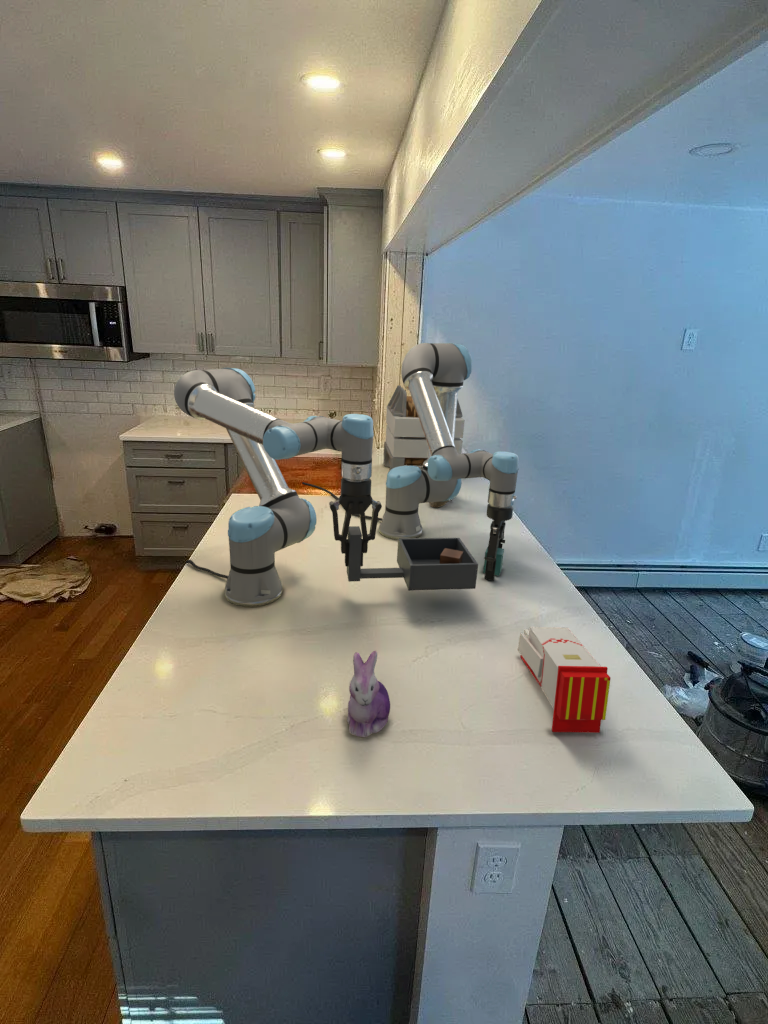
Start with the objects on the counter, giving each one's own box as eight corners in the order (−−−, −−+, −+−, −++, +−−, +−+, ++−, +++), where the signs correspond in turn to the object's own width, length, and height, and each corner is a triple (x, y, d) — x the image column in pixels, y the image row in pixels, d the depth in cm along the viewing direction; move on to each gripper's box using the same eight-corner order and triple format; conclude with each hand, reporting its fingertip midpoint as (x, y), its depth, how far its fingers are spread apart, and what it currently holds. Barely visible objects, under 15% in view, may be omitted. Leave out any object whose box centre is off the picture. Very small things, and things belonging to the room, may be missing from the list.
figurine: (356, 747, 102) (359, 677, 97) (334, 712, 111) (335, 646, 105) (402, 731, 106) (406, 663, 101) (377, 699, 115) (380, 635, 110)
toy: (564, 611, 133) (619, 673, 103) (558, 664, 135) (611, 739, 106) (512, 610, 132) (554, 672, 103) (508, 663, 135) (547, 738, 106)
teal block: (482, 572, 173) (485, 551, 171) (485, 566, 177) (488, 545, 175) (499, 575, 171) (502, 554, 169) (501, 569, 176) (504, 548, 174)
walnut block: (437, 579, 149) (440, 554, 146) (442, 571, 153) (444, 547, 151) (456, 583, 147) (459, 558, 145) (460, 575, 151) (463, 551, 149)
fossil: (424, 482, 246) (453, 463, 241) (437, 499, 248) (465, 480, 243) (422, 503, 226) (454, 483, 221) (436, 521, 229) (467, 502, 224)
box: (350, 592, 141) (352, 544, 137) (344, 562, 157) (345, 518, 153) (475, 588, 146) (480, 542, 142) (457, 560, 163) (461, 517, 158)
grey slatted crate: (382, 463, 289) (386, 382, 275) (445, 464, 293) (451, 384, 279) (390, 482, 257) (394, 392, 243) (460, 483, 261) (468, 394, 247)
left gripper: (324, 482, 136) (323, 571, 144) (390, 482, 138) (386, 569, 146) (322, 473, 143) (322, 558, 151) (386, 473, 145) (381, 557, 153)
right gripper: (507, 519, 155) (498, 589, 162) (518, 494, 177) (510, 557, 184) (480, 515, 157) (473, 585, 165) (494, 491, 179) (487, 553, 186)
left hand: (353, 563), depth 148 cm, fingers closed on box, 3 cm apart
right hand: (492, 570), depth 174 cm, fingers open, 12 cm apart
